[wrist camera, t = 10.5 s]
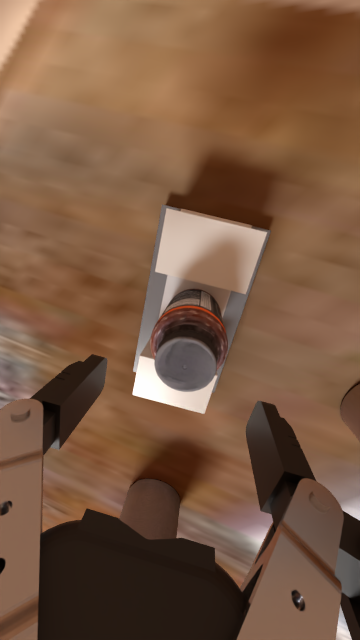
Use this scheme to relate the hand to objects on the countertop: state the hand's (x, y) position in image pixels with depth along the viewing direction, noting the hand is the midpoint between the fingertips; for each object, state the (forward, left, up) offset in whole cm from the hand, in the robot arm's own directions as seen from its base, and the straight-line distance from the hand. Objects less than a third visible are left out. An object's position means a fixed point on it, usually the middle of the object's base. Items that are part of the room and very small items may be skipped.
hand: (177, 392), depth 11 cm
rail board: (0, 0, -16) cm, 16 cm away
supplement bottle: (0, 0, -14) cm, 14 cm away
